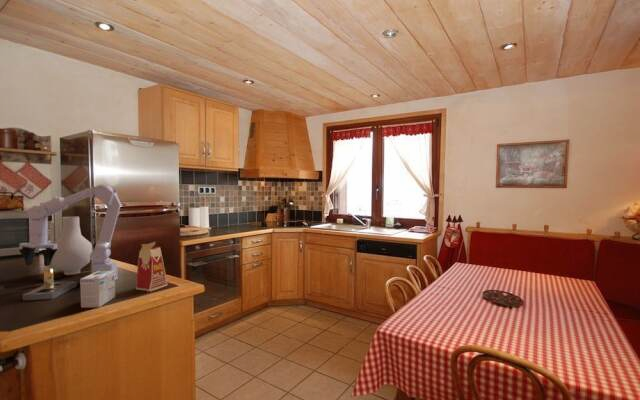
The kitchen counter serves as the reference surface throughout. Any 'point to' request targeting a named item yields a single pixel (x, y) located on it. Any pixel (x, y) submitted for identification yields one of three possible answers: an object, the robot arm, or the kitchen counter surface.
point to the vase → (71, 248)
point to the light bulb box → (97, 288)
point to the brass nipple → (48, 275)
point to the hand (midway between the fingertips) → (38, 265)
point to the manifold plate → (49, 290)
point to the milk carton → (150, 268)
